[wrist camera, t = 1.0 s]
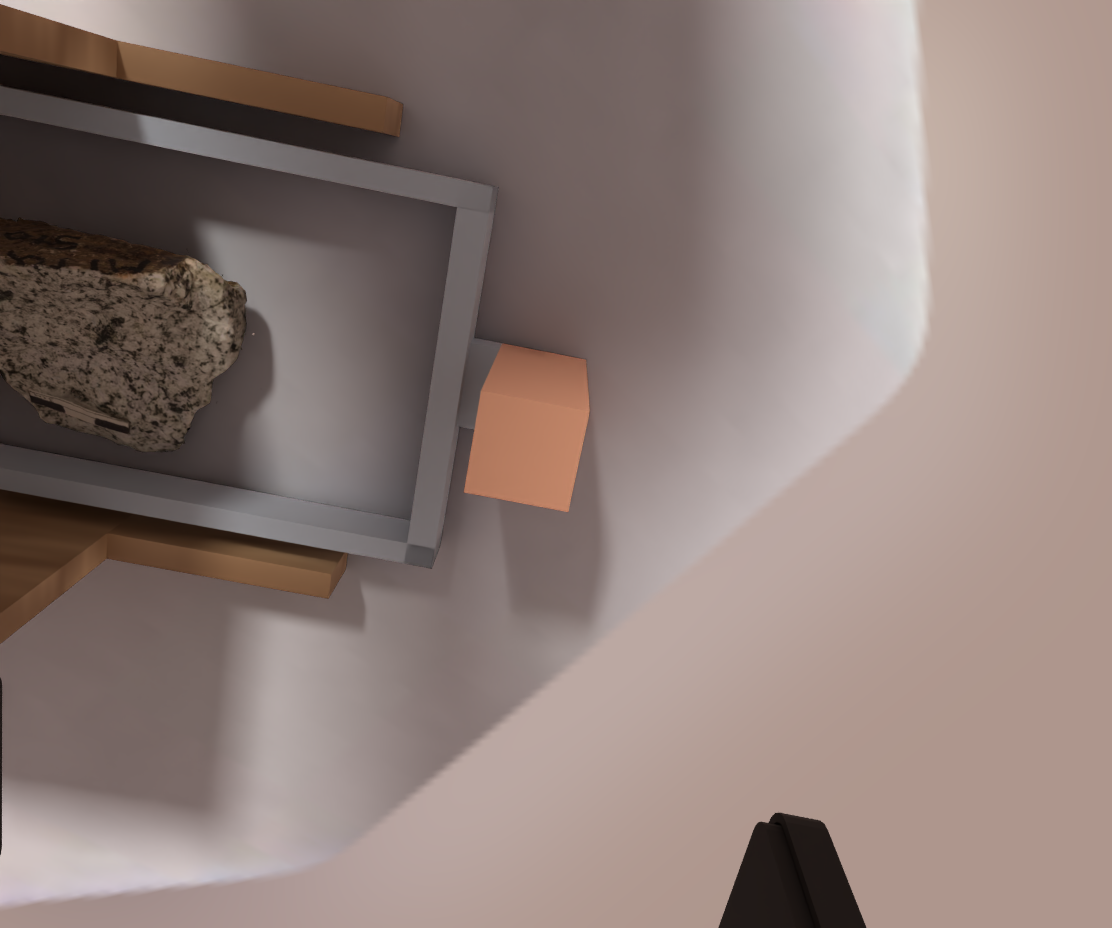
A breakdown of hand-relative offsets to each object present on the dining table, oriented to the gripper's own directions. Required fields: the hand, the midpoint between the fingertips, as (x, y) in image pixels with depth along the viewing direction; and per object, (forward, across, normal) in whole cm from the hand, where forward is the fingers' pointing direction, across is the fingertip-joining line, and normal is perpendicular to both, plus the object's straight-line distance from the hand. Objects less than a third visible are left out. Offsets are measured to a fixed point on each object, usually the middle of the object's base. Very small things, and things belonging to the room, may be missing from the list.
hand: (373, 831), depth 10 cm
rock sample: (+21, +13, 0) cm, 25 cm away
